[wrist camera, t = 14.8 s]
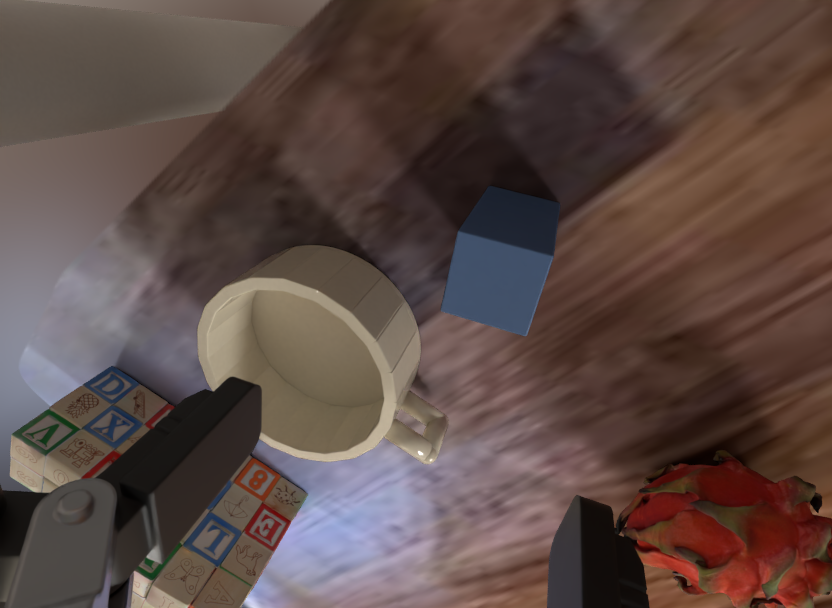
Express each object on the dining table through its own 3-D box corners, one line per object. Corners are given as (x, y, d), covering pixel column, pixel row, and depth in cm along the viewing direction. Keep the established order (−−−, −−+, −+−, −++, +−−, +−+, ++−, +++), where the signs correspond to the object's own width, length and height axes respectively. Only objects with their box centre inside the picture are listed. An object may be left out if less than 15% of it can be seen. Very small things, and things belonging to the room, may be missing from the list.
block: (472, 250, 29) (439, 311, 22) (488, 184, 27) (457, 230, 20) (539, 268, 28) (526, 337, 21) (560, 202, 26) (554, 255, 19)
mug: (226, 344, 38) (176, 384, 33) (282, 204, 31) (230, 231, 26) (407, 464, 38) (383, 521, 34) (505, 354, 31) (492, 407, 26)
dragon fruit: (826, 469, 30) (621, 461, 36) (844, 438, 24) (592, 435, 30) (863, 630, 26) (628, 590, 33) (896, 645, 20) (597, 592, 26)
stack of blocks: (103, 404, 47) (-34, 505, 36) (113, 362, 43) (-35, 461, 33) (287, 526, 47) (204, 661, 36) (311, 494, 44) (226, 633, 33)
